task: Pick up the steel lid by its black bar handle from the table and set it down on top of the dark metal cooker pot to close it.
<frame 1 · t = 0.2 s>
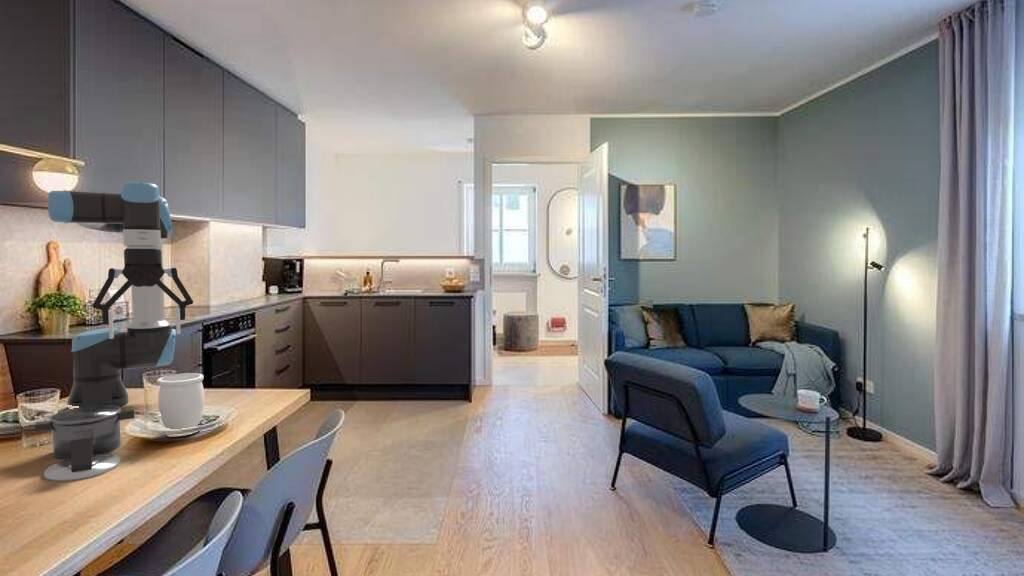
hand: (146, 335, 136), 28 cm above the table, tool pointing down, fingers open, 13 cm apart
lid: (83, 469, 125), on the table
jar: (182, 433, 149), on the table
pot: (88, 449, 136), on the table
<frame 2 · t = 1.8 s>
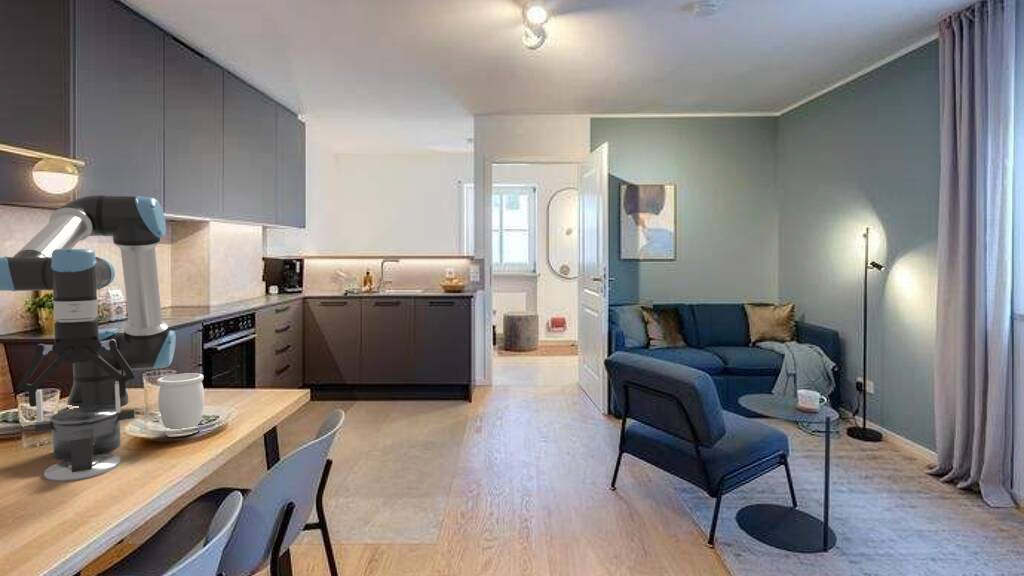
hand: (80, 416, 123), 12 cm above the table, tool pointing down, fingers open, 13 cm apart
nothing on the table moved.
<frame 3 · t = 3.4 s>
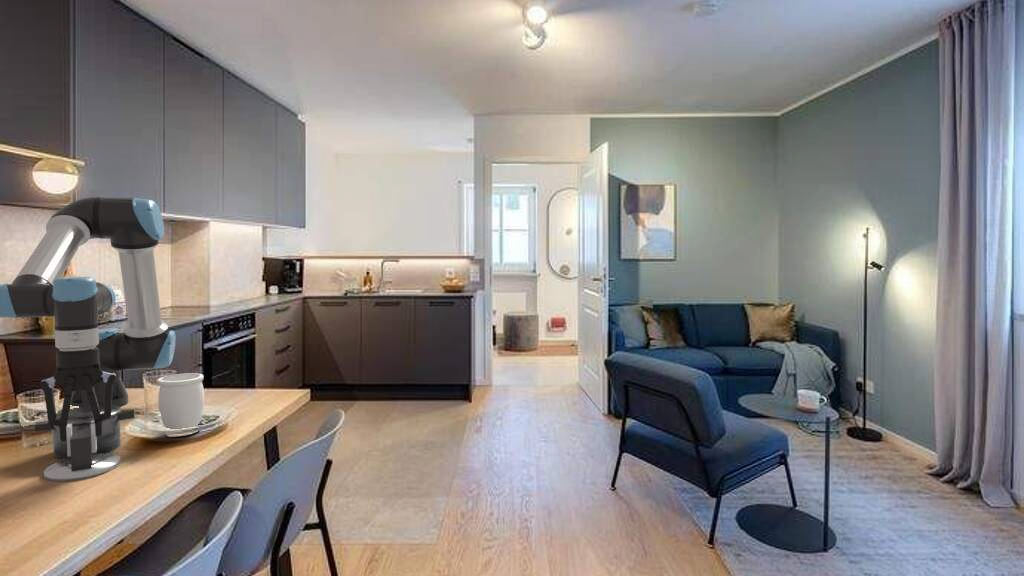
hand: (82, 452, 124), 4 cm above the table, tool pointing down, fingers closed on lid, 3 cm apart
lid: (83, 468, 125), on the table, touching gripper
everything else where it was.
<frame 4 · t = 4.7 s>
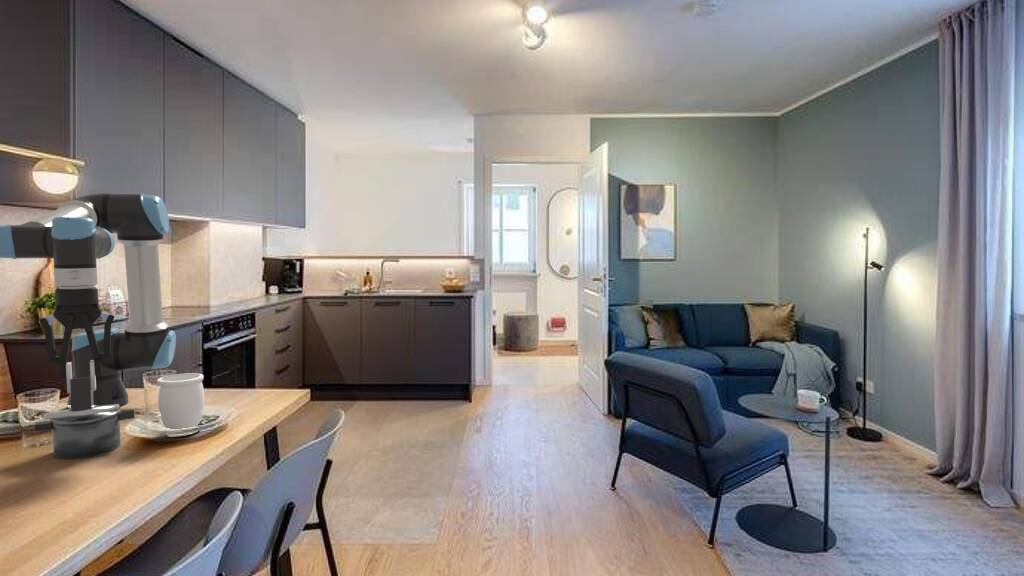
hand: (82, 390, 126), 17 cm above the table, tool pointing down, fingers closed on lid, 3 cm apart
lid: (83, 413, 126), point 12 cm above the table, tilted 10°, touching gripper
everything else where it was.
when the fingers open (15 cm above the table, at t = 6.0 s): lid stays where it is, resting on pot.
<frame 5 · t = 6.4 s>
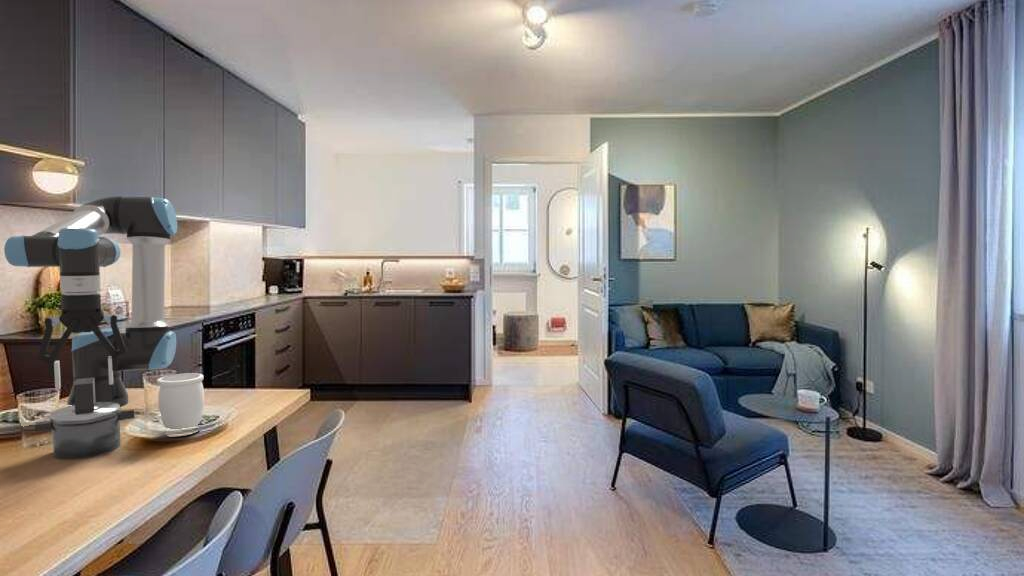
hand: (85, 386, 135), 16 cm above the table, tool pointing down, fingers open, 9 cm apart
lid: (86, 413, 135), point 9 cm above the table, touching pot
everything else where it was.
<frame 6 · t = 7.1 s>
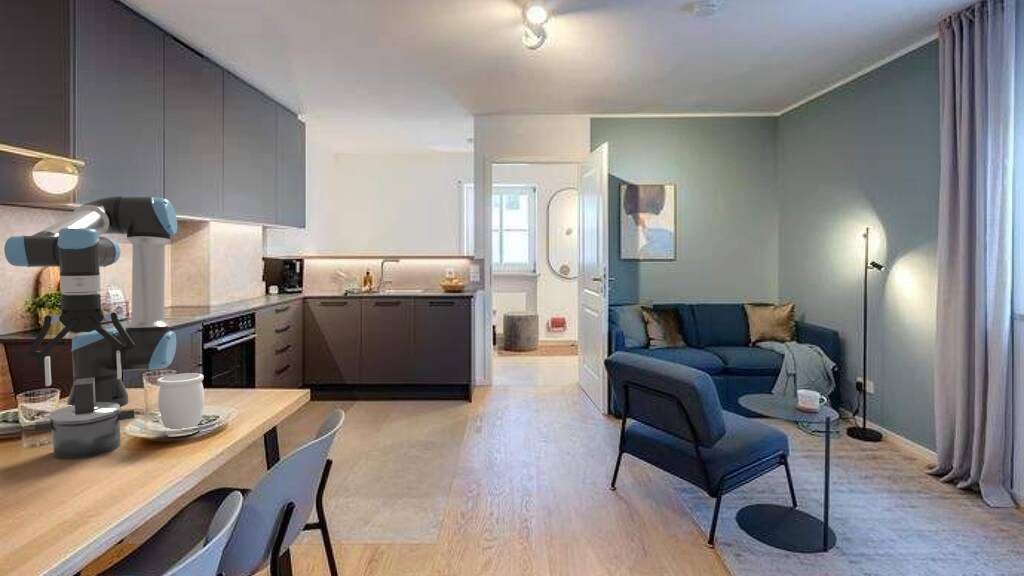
hand: (85, 381, 135), 17 cm above the table, tool pointing down, fingers open, 13 cm apart
nothing on the table moved.
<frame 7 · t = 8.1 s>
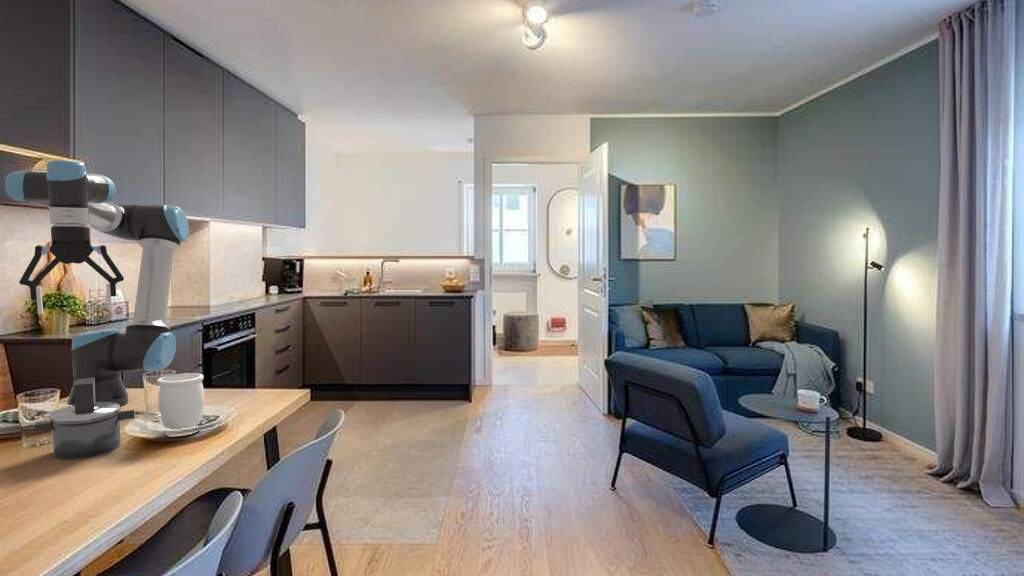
hand: (76, 311, 140), 33 cm above the table, tool pointing down, fingers open, 13 cm apart
nothing on the table moved.
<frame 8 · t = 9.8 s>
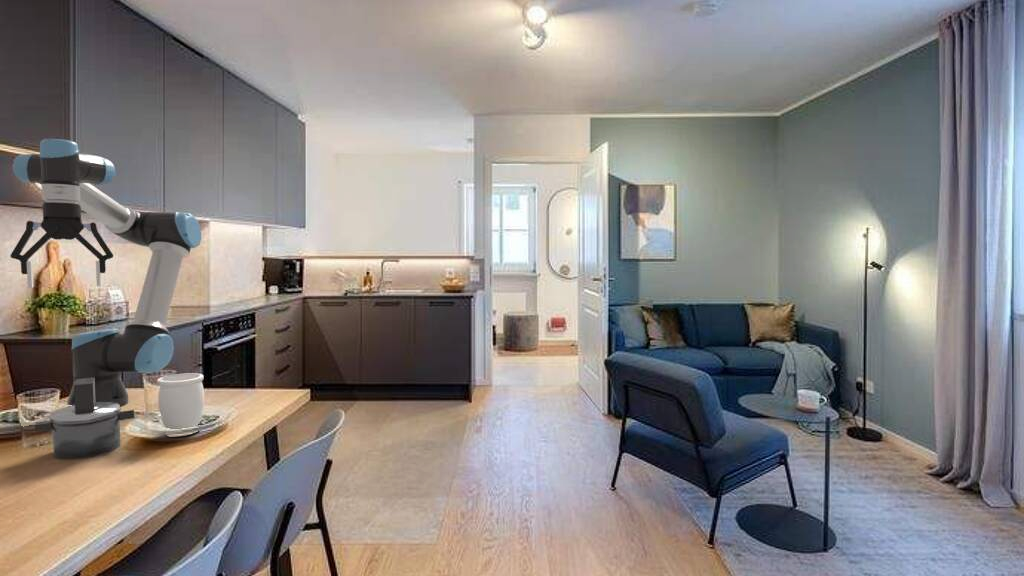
hand: (65, 286, 143), 39 cm above the table, tool pointing down, fingers open, 13 cm apart
nothing on the table moved.
at the end: lid 0.8 cm off-centre on the pot, point 9.0 cm above the pot's base; lid tilted 0°; the gripper is holding nothing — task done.
